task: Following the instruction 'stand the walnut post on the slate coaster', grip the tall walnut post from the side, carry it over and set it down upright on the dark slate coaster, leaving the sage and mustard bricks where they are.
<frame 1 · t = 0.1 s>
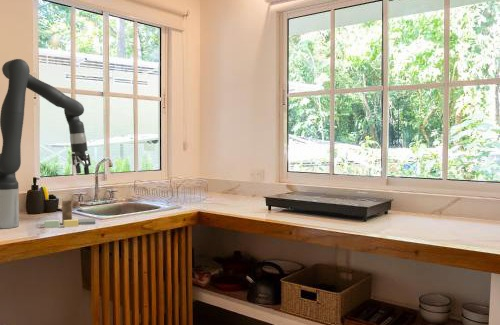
hand: (82, 173, 226), 22 cm above the countertop, tool pointing down, fingers open, 8 cm apart
sage brick: (52, 227, 201), on the countertop
walnut post: (67, 223, 209), on the countertop
slate coaster: (86, 222, 211), on the countertop
mustard brick: (70, 226, 203), on the countertop
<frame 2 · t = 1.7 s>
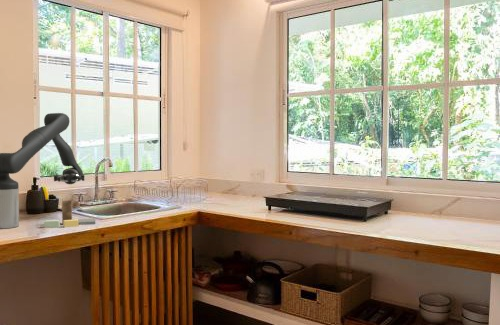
hand: (68, 179, 218), 20 cm above the countertop, tool horizontal, fingers open, 8 cm apart
nothing on the countertop moved.
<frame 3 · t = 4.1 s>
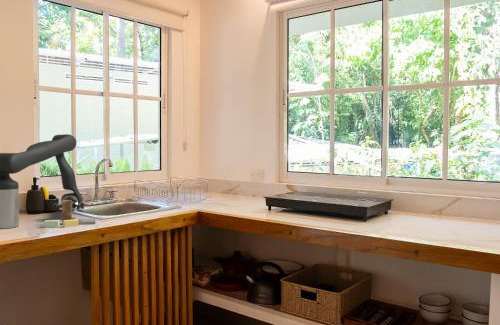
hand: (67, 208, 214), 7 cm above the countertop, tool horizontal, fingers open, 8 cm apart
nothing on the countertop moved.
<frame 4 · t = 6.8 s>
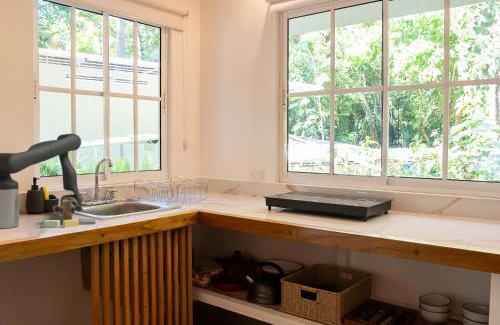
hand: (66, 210, 206), 7 cm above the countertop, tool horizontal, fingers closed on walnut post, 4 cm apart
walnut post: (67, 223, 209), on the countertop, touching gripper
everything else where it was.
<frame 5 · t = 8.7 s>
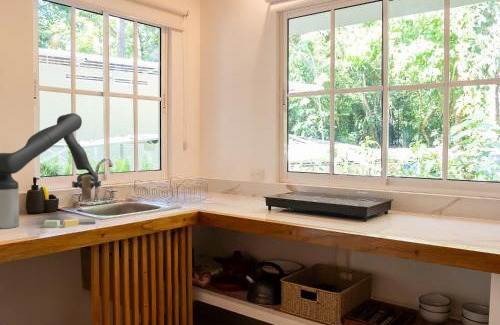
hand: (86, 186, 208), 18 cm above the countertop, tool horizontal, fingers closed on walnut post, 4 cm apart
walnut post: (86, 199, 211), point 11 cm above the countertop, touching gripper
everything else where it was.
when the fingers open (9 cm above the countertop, at t = 11.1 s): walnut post drops 1 cm, resting on slate coaster.
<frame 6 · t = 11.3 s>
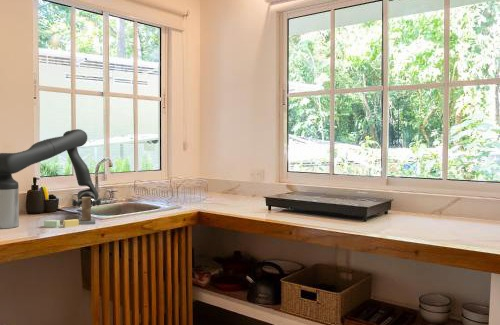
hand: (86, 204, 209), 9 cm above the countertop, tool horizontal, fingers open, 5 cm apart
walnut post: (86, 220, 211), point 1 cm above the countertop, touching slate coaster
everything else where it was.
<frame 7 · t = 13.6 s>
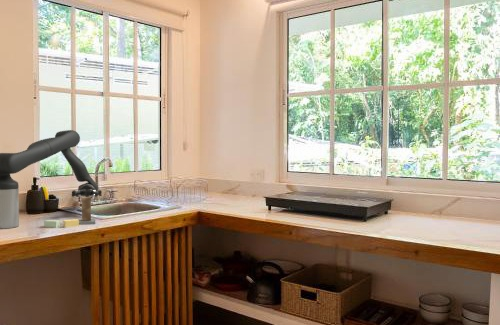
hand: (86, 194, 221), 12 cm above the countertop, tool horizontal, fingers open, 8 cm apart
nothing on the countertop moved.
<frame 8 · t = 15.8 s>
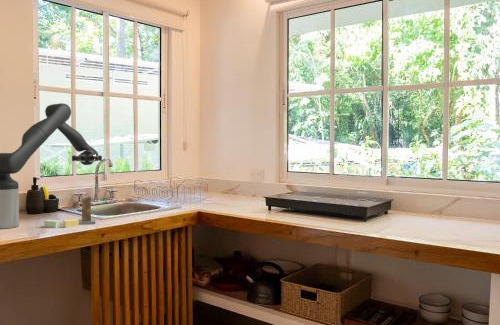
hand: (86, 158, 220), 30 cm above the countertop, tool horizontal, fingers open, 8 cm apart
nothing on the countertop moved.
at the end: walnut post 0.1 cm off-centre on the slate coaster, point 1.2 cm above the slate coaster's base; walnut post tilted 0°; mustard brick moved 0.2 cm from its start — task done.
